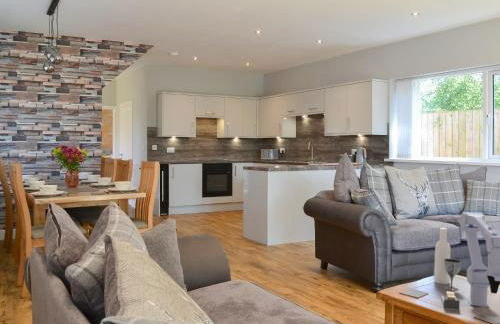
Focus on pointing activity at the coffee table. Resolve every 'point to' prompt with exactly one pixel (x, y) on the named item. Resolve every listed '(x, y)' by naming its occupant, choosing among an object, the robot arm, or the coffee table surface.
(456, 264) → the wine glass
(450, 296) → the tan wooden block
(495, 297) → the coffee table surface
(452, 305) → the endcap rail
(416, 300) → the coffee table surface
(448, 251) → the bottle
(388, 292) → the coffee table surface
